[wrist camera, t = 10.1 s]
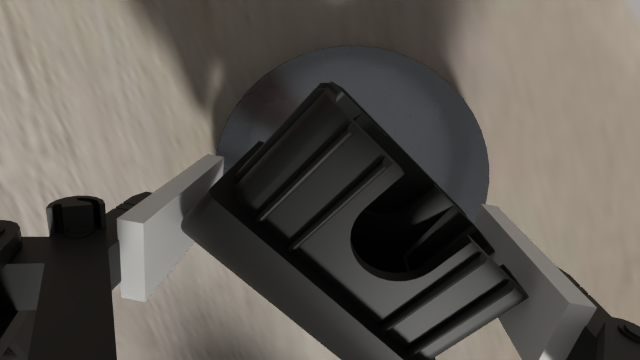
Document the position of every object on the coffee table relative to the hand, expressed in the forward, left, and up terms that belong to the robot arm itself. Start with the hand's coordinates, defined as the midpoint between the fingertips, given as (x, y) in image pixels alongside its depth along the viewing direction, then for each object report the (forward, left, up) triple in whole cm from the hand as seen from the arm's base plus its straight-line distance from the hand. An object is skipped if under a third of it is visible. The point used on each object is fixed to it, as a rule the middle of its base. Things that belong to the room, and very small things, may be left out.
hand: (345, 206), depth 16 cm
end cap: (0, 0, -1) cm, 1 cm away
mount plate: (0, 0, -4) cm, 4 cm away
